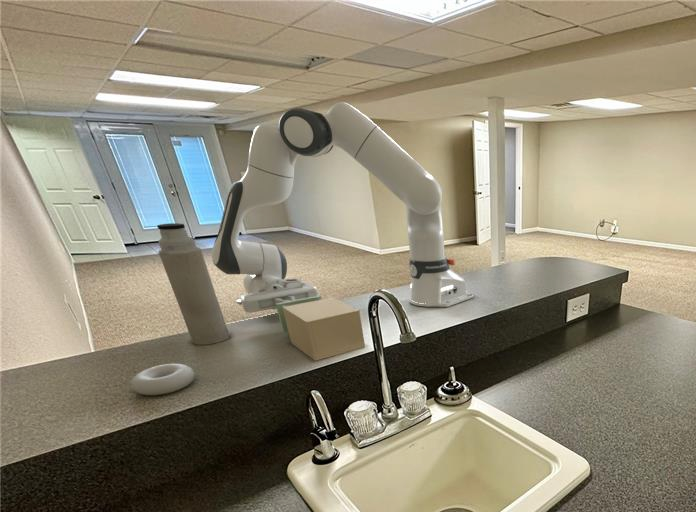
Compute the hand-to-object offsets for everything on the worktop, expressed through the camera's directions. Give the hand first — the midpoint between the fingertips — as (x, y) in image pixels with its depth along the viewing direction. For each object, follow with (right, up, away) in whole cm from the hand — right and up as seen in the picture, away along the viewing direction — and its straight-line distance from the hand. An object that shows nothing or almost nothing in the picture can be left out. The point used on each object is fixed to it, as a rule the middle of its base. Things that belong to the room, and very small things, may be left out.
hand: (290, 304), depth 113 cm
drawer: (+8, -8, -5) cm, 13 cm away
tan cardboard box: (+15, -12, -10) cm, 22 cm away
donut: (-8, -23, -31) cm, 39 cm away
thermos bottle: (-16, -11, -9) cm, 21 cm away
